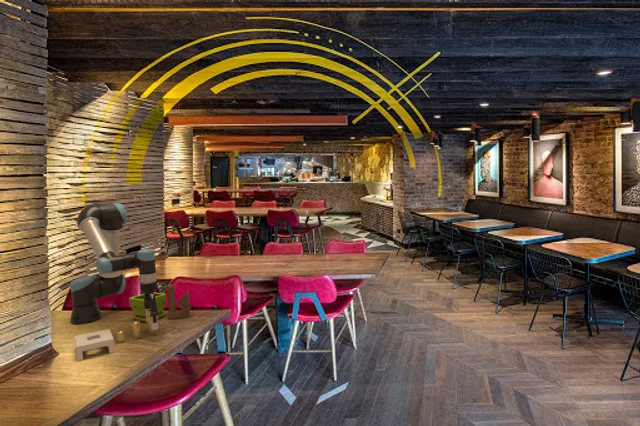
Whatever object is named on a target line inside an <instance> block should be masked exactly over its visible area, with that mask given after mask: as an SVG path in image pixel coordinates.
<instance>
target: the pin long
mask: <svg viewBox="0 0 640 426" xmlns="http://www.w3.org/2000/svg"><path fill="white" fill-rule="evenodd" d="M154 313H155V312H154ZM150 315H151V311H150V310H147V319H148V322H147V326H148V327H147V329H148V337H153V336H154V337H155V336H157V334H158V332H157V330H158V329H155V330H152V325H151V317H150Z"/></svg>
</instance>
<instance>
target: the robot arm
mask: <svg viewBox="0 0 640 426" xmlns="http://www.w3.org/2000/svg"><path fill="white" fill-rule="evenodd" d="M127 223H128V214H127V210H126V208H125V206H124V205H123V204H122V203H120V202H118V203H117V202H110V203H98V204H90V205H87V206H85V207H83V208H82V209H81V211H80V212H79V213H78V215H77V219H76V224H77V226H78V229H79V231H81V232H82V233H84V235H85V237H86V239H87V241H88V242H89V245H90V246H91V248H92V250H93V253H94V254H95V256H96V258H97V259H96V260H95V267H96V271H97V272H98V276H97V277H96V276H95V275H84V276H81V277H78V278H76V279H74V280H72V281H71V283H70V292H71V304H72V310H71V314H70V318H69V321H70V324H71V323H72V324H71V325H84V324H85V325H86V324H89V323H94V322H96V321H99V320H101V319H102V317H103V313H102V311H101V309H100V307H99V305H98V301H97V300H98V299H101V298H106V297H110V296H111V297H112V296H116V295H119V294H122V293H123V292H124V291H125V288H126V286H127V285H126V284H127V283H126V282H127V280H126V276H125V274H124V273H123V272H122V271H127V270H132V269H138V277H137V279H139V282H140V283H139V285H140V286H139V289H140V291H141V292H143V294H144V307H145V312H146V323H148V319H147V310H150V311H151V315H150V317H151V325H152V330H155V329H157V330H159V320H158V319H159V318H158V319H157V315H158V311H157V305H156V299H155V294H154V293H153V292H155V291H156V290H158V282H157V279H158V278H157V276H158V275H157V269H156V268H157V265H156V255H155V250H154V249H152V248H144V249H140V250H138V251H132V252H130V253H124V254H120V234H121V231H122V229H124V225H125V224H127ZM154 312H155V313H154Z"/></svg>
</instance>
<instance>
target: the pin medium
mask: <svg viewBox="0 0 640 426" xmlns="http://www.w3.org/2000/svg"><path fill="white" fill-rule="evenodd" d="M131 330H132V339H133V340H134V339H137V340H140V339H142V328H141V320H137V319H135V320H132V321H131Z"/></svg>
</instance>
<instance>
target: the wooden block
mask: <svg viewBox="0 0 640 426" xmlns="http://www.w3.org/2000/svg"><path fill="white" fill-rule="evenodd" d="M166 292H167V293H166V294H167V295H166V296H167V303H168V304H167V305H168V312H167V317H168V320H178V319H189V318H190V317H191V309H190V298H189V297H190V295H189V290H187V291H186V292H185V293H184V294H183V295H182V296H181V298H180V299H179V300H178V301H177V302H176V297H175V296H176V294H175V284H168V285H167V286H166ZM177 306H179V307H181V308H180V309H181V310H180V309H176V308H177Z"/></svg>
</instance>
